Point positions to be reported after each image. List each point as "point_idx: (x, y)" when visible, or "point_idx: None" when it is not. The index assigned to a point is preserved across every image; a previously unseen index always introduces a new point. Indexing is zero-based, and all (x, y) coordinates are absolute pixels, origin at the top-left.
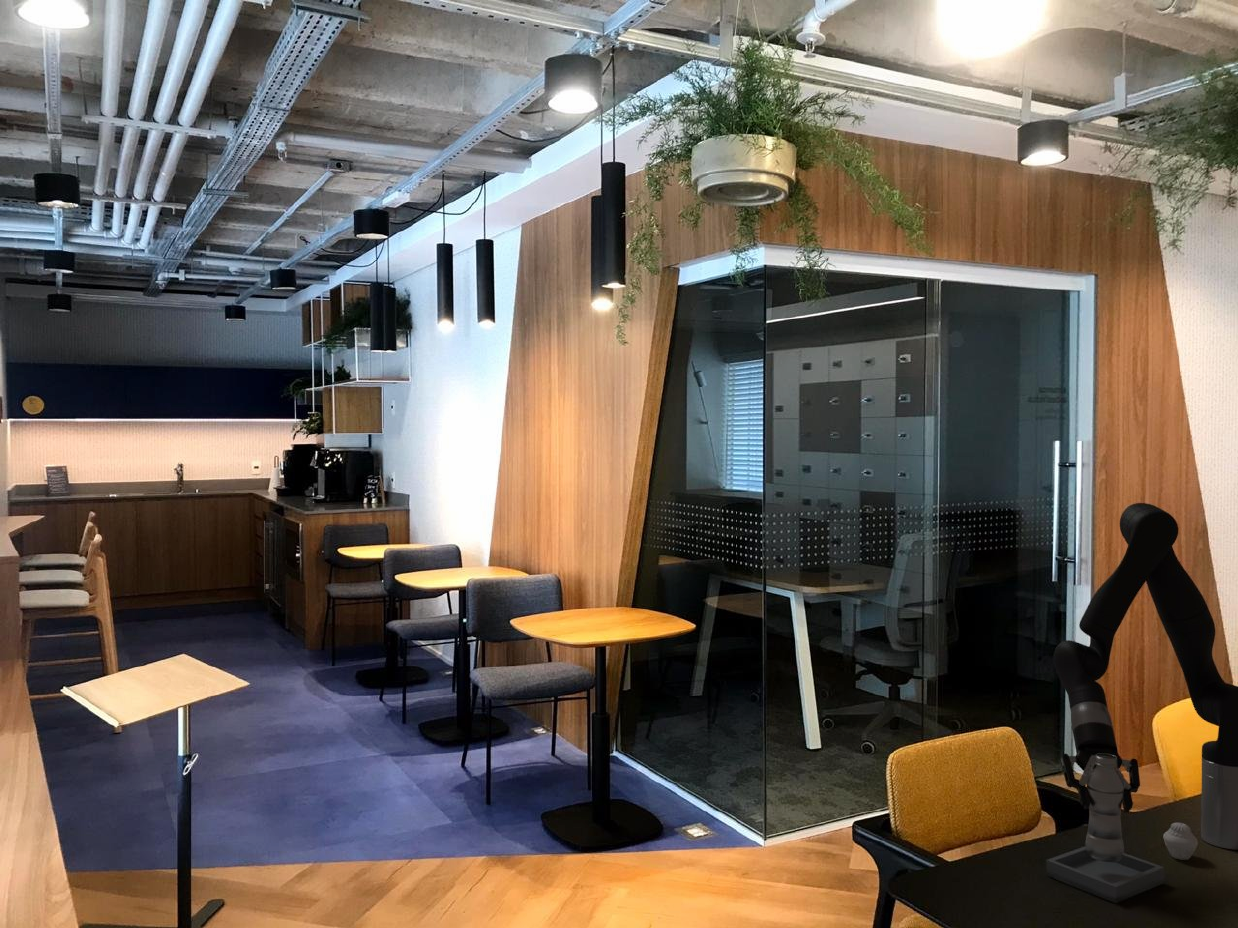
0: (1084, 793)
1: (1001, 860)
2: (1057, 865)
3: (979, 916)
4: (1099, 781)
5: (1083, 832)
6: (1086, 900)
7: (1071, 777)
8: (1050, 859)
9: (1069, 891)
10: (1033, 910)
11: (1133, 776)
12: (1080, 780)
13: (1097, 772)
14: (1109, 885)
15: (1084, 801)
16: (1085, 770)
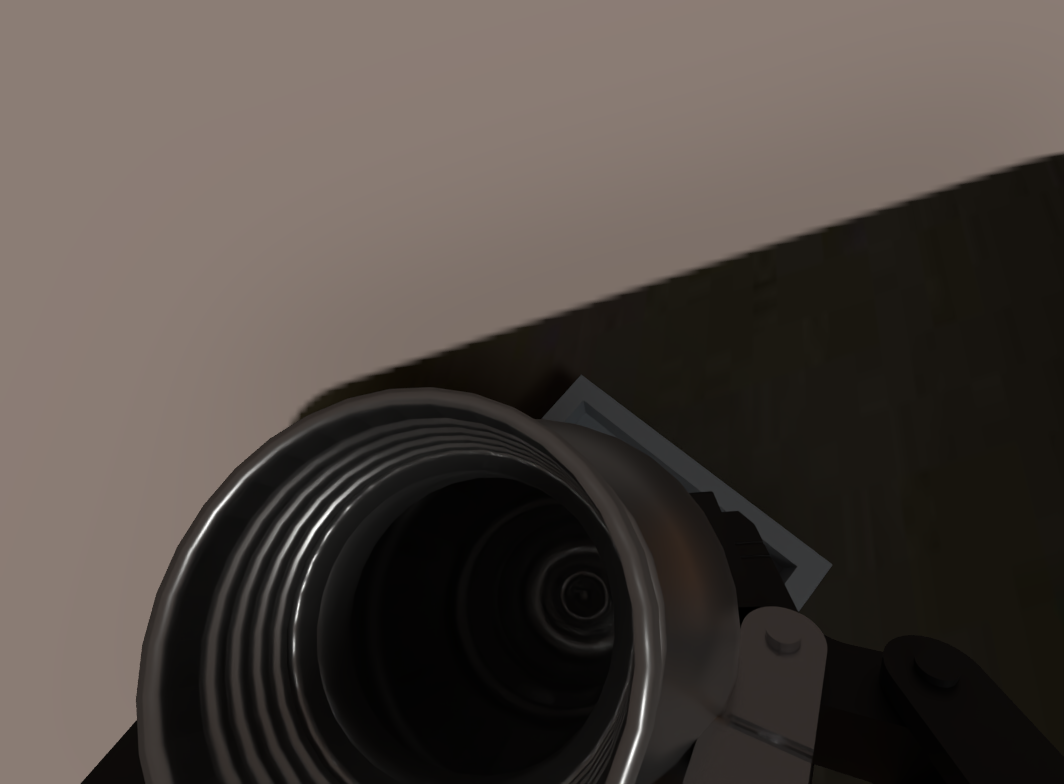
0: (736, 549)
1: (1024, 695)
2: (780, 528)
3: (988, 184)
4: (610, 439)
5: None
6: (671, 389)
7: (950, 681)
8: (814, 577)
9: (722, 441)
10: (833, 270)
11: (144, 782)
12: (812, 658)
13: (625, 505)
14: (599, 389)
15: (725, 517)
16: (784, 780)
